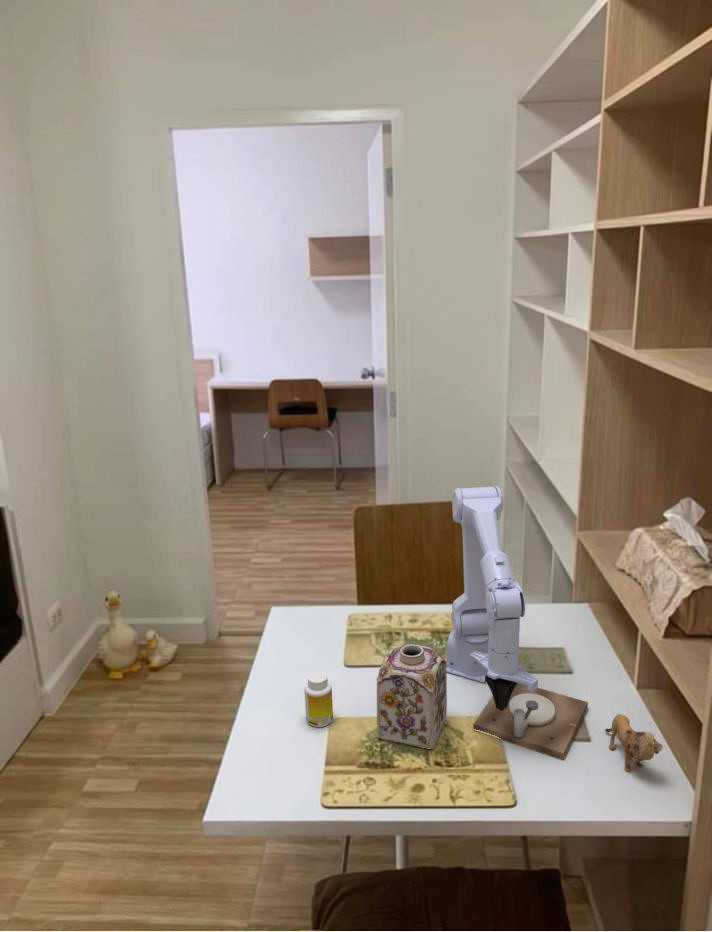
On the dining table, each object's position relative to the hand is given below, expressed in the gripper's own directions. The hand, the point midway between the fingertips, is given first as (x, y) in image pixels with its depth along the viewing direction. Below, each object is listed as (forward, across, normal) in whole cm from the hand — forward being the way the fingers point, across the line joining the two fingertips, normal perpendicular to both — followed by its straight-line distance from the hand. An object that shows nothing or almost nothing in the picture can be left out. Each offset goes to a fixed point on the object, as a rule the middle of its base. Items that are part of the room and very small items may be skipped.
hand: (501, 707), depth 142 cm
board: (+6, +2, +8) cm, 10 cm away
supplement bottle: (+6, -29, -22) cm, 37 cm away
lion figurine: (+6, +22, +10) cm, 25 cm away
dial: (+4, +3, +6) cm, 7 cm away
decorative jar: (+6, -14, -11) cm, 19 cm away
